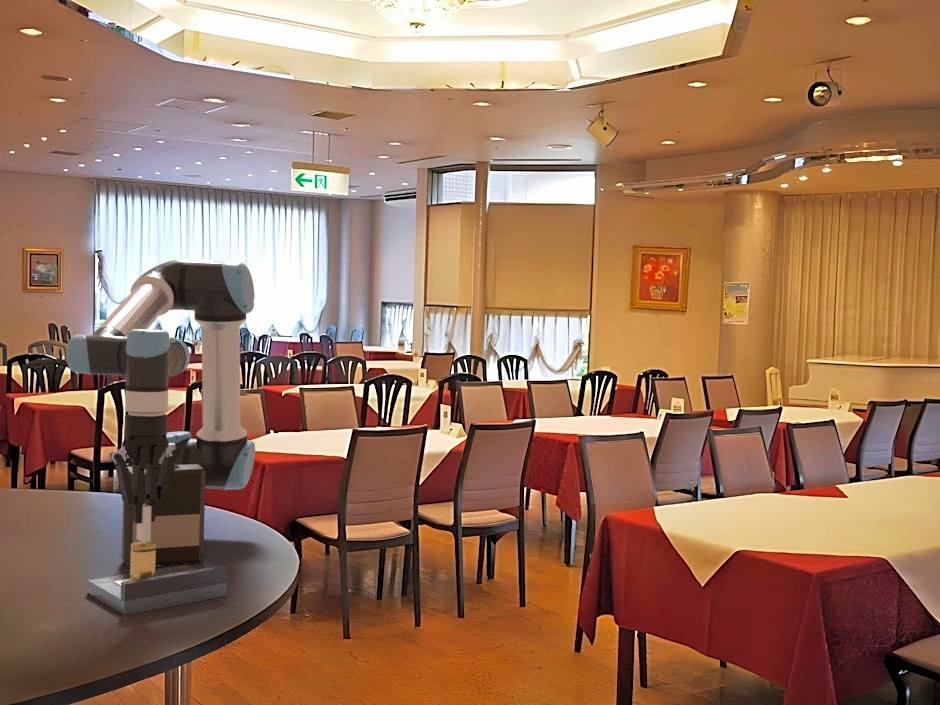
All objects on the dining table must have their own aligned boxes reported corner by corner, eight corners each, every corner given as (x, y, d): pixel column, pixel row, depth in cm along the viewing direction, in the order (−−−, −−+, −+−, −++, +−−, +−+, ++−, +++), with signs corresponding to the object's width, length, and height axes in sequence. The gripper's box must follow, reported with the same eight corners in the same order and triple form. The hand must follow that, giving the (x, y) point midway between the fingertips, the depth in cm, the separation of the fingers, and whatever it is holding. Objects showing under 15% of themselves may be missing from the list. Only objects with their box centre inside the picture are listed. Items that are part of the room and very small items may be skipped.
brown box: (120, 559, 214) (123, 442, 213) (198, 554, 221) (201, 440, 219) (125, 569, 207) (127, 447, 205) (204, 563, 213) (208, 445, 212)
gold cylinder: (147, 592, 192) (149, 540, 191) (158, 598, 188) (160, 544, 188) (125, 596, 189) (126, 543, 188) (136, 602, 185) (137, 548, 185)
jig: (186, 576, 203) (187, 549, 203) (226, 595, 191) (227, 567, 191) (87, 593, 190) (88, 564, 189) (124, 615, 178) (124, 584, 178)
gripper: (170, 409, 194) (167, 531, 195) (103, 412, 185) (100, 540, 186) (188, 413, 188) (185, 539, 190) (120, 417, 180) (118, 549, 181)
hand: (143, 539), depth 188 cm, fingers closed
